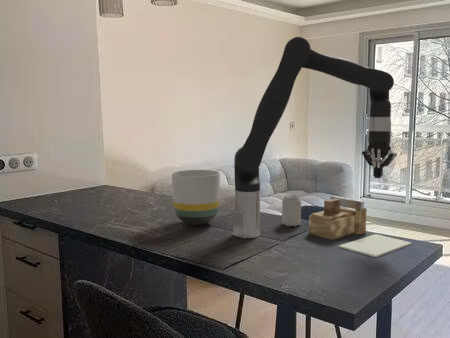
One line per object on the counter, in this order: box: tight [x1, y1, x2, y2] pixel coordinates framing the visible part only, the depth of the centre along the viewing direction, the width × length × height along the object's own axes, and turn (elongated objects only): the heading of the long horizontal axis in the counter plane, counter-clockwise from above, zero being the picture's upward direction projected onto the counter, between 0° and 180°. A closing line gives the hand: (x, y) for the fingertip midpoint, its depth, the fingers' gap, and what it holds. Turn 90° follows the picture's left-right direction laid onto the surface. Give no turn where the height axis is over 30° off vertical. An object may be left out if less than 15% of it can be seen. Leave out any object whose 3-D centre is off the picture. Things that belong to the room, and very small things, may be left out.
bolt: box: [330, 195, 365, 210], centre depth 169 cm, size 2×14×3 cm, turn 39°
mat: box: [338, 233, 413, 259], centre depth 150 cm, size 22×14×1 cm, turn 129°
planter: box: [171, 169, 221, 226], centre depth 179 cm, size 20×20×21 cm
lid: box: [310, 199, 356, 221], centre depth 165 cm, size 18×9×7 cm, turn 129°
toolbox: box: [308, 207, 368, 241], centre depth 166 cm, size 18×15×10 cm
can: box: [281, 194, 302, 227], centre depth 178 cm, size 8×8×12 cm
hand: (377, 177), depth 157 cm, fingers closed
